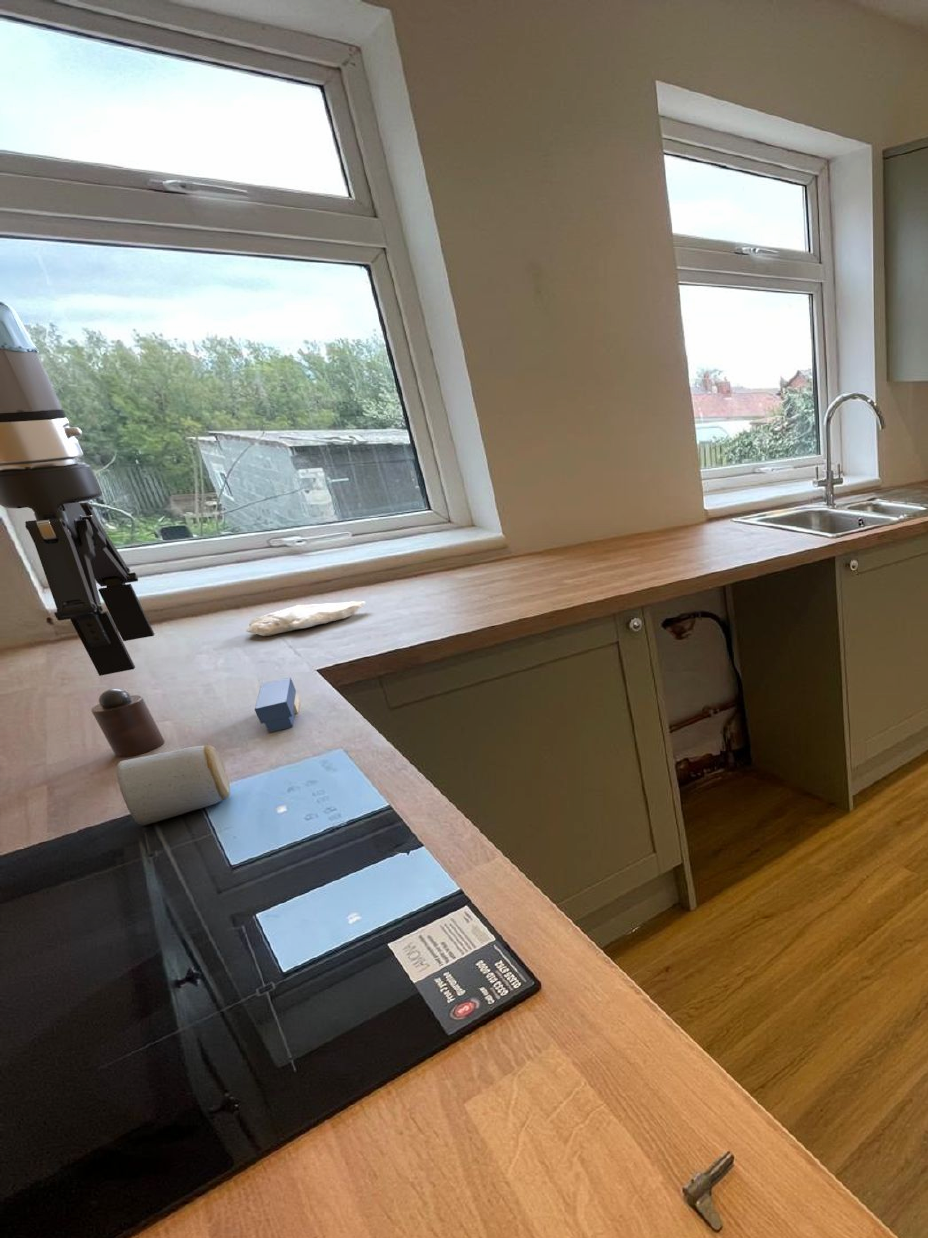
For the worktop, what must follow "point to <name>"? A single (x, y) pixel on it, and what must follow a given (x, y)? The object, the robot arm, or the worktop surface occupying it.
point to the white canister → (172, 783)
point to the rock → (302, 617)
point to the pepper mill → (126, 723)
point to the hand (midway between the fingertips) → (129, 653)
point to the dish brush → (277, 704)
